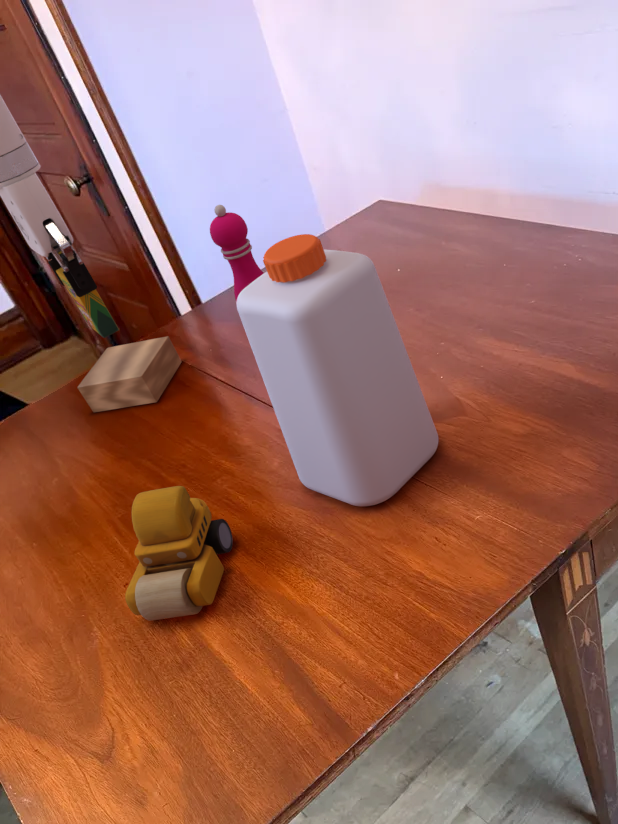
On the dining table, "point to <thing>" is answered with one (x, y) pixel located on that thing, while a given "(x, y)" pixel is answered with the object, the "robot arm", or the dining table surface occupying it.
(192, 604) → the toy roller
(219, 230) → the pepper mill
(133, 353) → the maple block
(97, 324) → the crayon box
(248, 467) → the dining table surface
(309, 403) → the plastic bottle
